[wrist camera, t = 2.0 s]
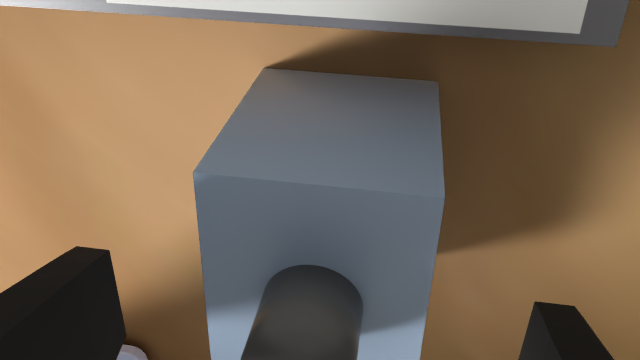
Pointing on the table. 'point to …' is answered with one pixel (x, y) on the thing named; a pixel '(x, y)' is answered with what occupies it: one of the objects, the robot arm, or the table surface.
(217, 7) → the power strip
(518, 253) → the table surface
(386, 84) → the blue plug
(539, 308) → the robot arm
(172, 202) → the table surface
